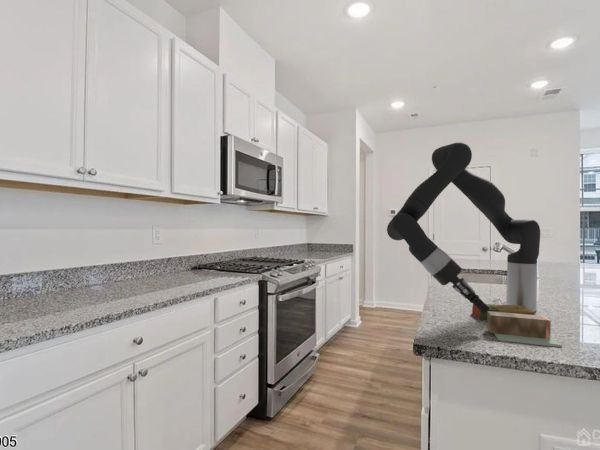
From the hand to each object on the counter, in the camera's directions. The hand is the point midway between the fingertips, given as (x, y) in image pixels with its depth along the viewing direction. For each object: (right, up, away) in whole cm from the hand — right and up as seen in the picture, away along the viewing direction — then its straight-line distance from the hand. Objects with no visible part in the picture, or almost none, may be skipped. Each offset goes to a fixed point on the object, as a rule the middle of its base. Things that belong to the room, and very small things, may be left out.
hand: (486, 310), depth 96 cm
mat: (+8, -6, -3) cm, 11 cm away
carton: (+14, -7, +15) cm, 21 cm away
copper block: (+1, -3, 0) cm, 3 cm away
